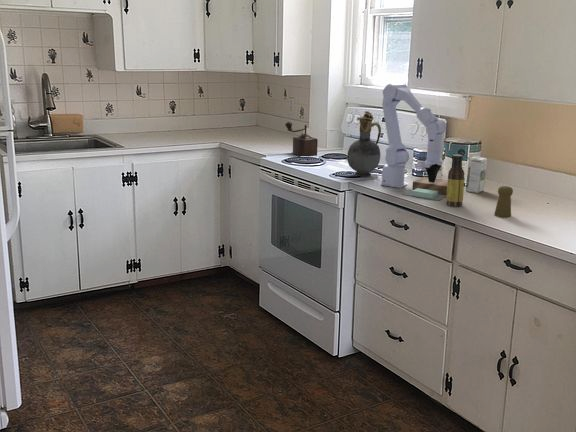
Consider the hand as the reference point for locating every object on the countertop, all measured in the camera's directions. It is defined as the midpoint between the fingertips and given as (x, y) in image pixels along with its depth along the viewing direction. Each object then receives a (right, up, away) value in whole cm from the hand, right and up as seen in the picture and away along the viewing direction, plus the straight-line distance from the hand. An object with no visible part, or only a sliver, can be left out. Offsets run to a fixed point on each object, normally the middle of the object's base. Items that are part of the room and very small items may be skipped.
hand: (431, 182), depth 268 cm
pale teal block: (-4, -4, -5) cm, 8 cm away
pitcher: (-24, +5, +35) cm, 42 cm away
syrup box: (+20, -4, +6) cm, 21 cm away
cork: (+19, -14, -32) cm, 40 cm away
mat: (-4, -6, -3) cm, 8 cm away
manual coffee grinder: (-53, +19, +84) cm, 101 cm away
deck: (+2, -3, +6) cm, 7 cm away
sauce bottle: (+5, -10, -18) cm, 21 cm away
